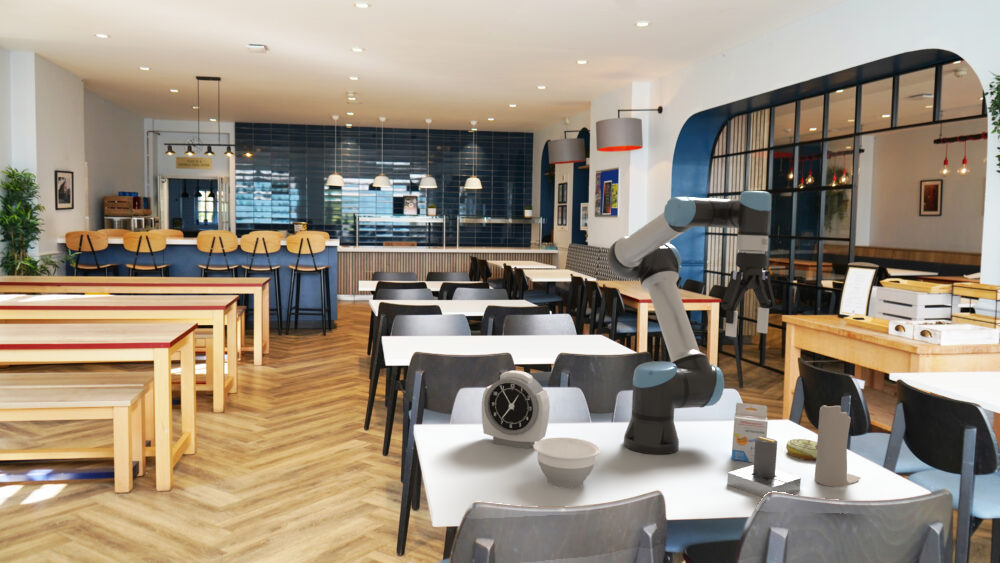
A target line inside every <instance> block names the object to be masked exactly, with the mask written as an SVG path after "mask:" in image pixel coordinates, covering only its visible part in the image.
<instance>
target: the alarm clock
mask: <svg viewBox="0 0 1000 563" xmlns="http://www.w3.org/2000/svg"><path fill="white" fill-rule="evenodd" d="M499 377H500V378H499V380H497V381H496V382H494V383H492V384H490V385H489V386H486V388H485V390H484V391H483V394H482V397H481V422H482V423H481V424H482V429H483V434H484V435H486V436H487V435H488V436H491V437H492V438H493V439H492V444H496V445H503V446H508V447H515V448H523V449H527V450H528V449H530V448H531V447H532V446H534V444H535V443H536V442H537V441H540V440H543V439H545V437H546V433H547V429H548V424H549V418H550V397H549V395H548V391H547V389H545V390H544V389H543V387H542V385H541V383H540V382H539V381H538V380H536V379H535V378H534V377H533V375H531V374H530V373H528V372H526V371H522V370H521V371H520V370H509V371H505V372H503V373H500V376H499Z"/></svg>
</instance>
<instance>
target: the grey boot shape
mask: <svg viewBox="0 0 1000 563" xmlns="http://www.w3.org/2000/svg"><path fill="white" fill-rule="evenodd" d="M819 408H820V409H819V416H818V428H817V430H818V431H817V441H816V442H817V458H816V460H815V467H814V468H815V470H814V481H815V482H816V483H818V484H821V485H822V486H823V485H824V486H827V487H834V488H838V487H840V488H841V487H845V486H849V485H853V484H855V483H858V482H859V479H861V477H860V476H858V475H854V474H851V473H848V459H847V458H848V456H847V455H848V452H847V451H848V450H847V449H848V448H847V447H848V438H849V432H850V427H851V426H850V425H851V419H852V418H851V416H849V413H848V412H846V411H842V406H841V405H832V406H831V405H830V406H828V405H825V404H824V405H821V407H819Z"/></svg>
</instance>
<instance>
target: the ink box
mask: <svg viewBox="0 0 1000 563" xmlns="http://www.w3.org/2000/svg"><path fill="white" fill-rule="evenodd" d="M750 408H752V409H753V410H750ZM747 409H749V410H747ZM754 409H755V410H754ZM767 416H768V406H767V405H761V404H754V403H747V402H746V403H742V402H736V403H735V414H734V421H733V422H734V423H733V434H732V446H731V460H733V461H739V462H745V463H746V462H747V463H753V464H754V452H755V439H756V438H758V437H763V438H768V436H767V434H768V424H769V423H768V417H767Z"/></svg>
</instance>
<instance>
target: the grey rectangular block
mask: <svg viewBox="0 0 1000 563" xmlns="http://www.w3.org/2000/svg"><path fill="white" fill-rule="evenodd" d="M777 450H778V441H777V440H776V439H773V438H770V437H767V438H763V437H758V438H756V439H755V452H754V463H753V465H754V467H753V475H754V476H757V477H760V478H763V479H766V480H768V479H771V478H774V477H775V470H777V469H776V467H777V466H776V465H777Z"/></svg>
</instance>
